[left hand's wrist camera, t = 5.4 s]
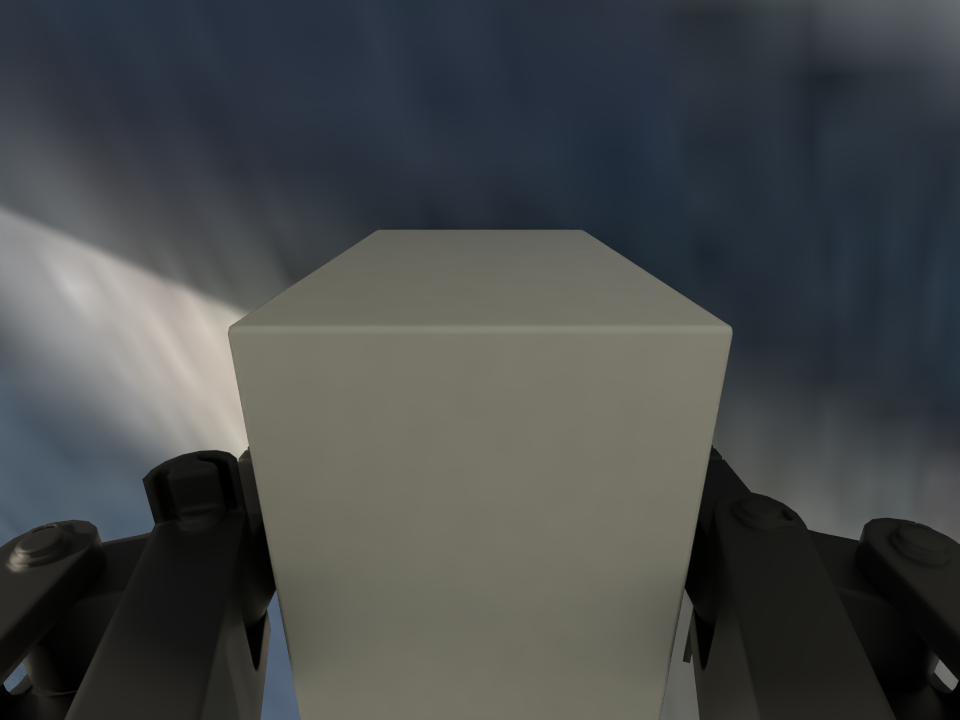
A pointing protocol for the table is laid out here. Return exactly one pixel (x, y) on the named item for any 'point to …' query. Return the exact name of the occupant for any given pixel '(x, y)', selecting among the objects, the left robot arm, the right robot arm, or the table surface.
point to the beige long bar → (480, 474)
